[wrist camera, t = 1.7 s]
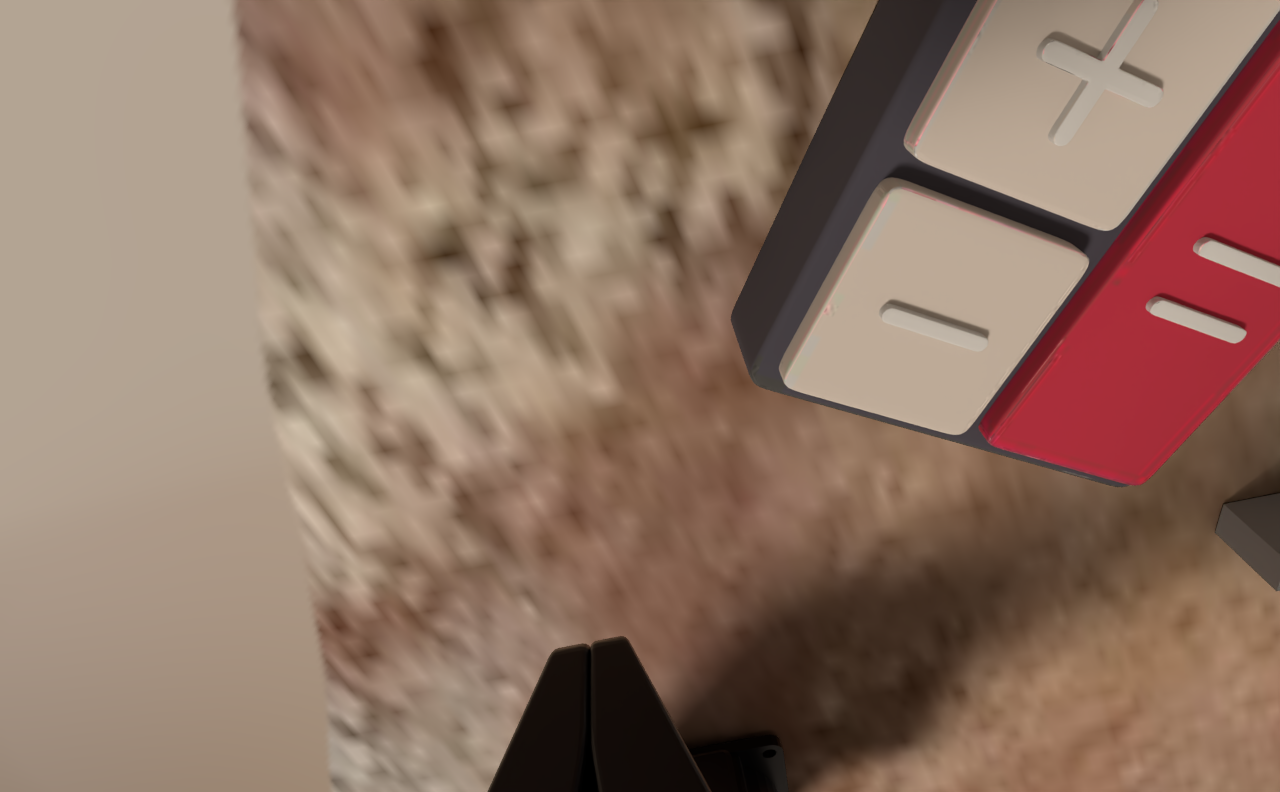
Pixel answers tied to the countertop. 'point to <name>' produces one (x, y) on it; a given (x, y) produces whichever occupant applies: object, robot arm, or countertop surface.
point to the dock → (1254, 534)
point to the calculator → (1034, 228)
